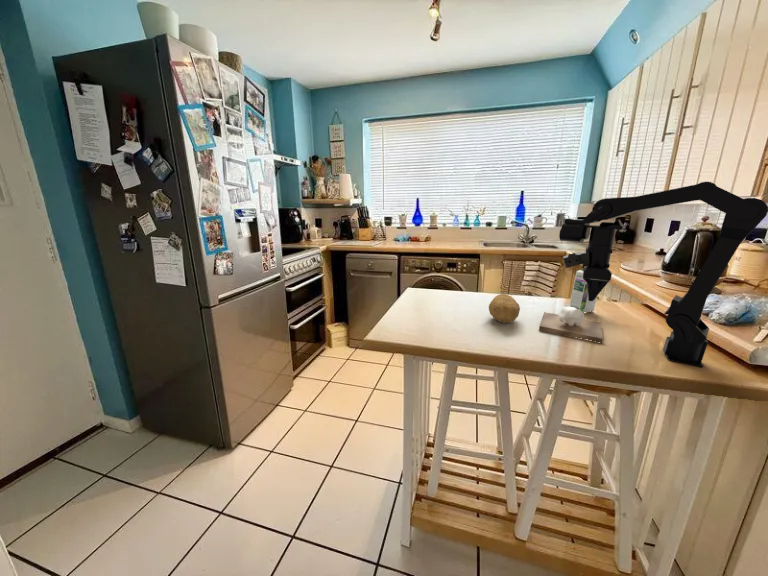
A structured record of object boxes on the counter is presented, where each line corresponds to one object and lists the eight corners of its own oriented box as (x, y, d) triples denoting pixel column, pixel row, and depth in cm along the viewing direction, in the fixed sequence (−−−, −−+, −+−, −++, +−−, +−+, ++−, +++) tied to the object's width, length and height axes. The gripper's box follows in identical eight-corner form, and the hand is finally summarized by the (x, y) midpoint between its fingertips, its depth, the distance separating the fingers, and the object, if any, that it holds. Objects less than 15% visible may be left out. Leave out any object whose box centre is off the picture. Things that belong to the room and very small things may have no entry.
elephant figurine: (551, 320, 98) (554, 302, 96) (576, 320, 98) (579, 302, 96) (563, 328, 91) (567, 310, 90) (590, 328, 91) (594, 310, 90)
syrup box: (568, 308, 113) (575, 270, 109) (580, 307, 114) (588, 269, 110) (581, 314, 107) (589, 274, 103) (594, 312, 109) (603, 273, 105)
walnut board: (599, 326, 97) (600, 322, 97) (601, 343, 86) (602, 338, 85) (543, 316, 105) (544, 312, 105) (538, 330, 94) (539, 325, 93)
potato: (487, 326, 96) (489, 302, 94) (487, 311, 109) (490, 290, 106) (520, 331, 93) (524, 306, 91) (517, 315, 106) (520, 293, 103)
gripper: (568, 239, 98) (560, 285, 102) (566, 246, 83) (557, 300, 87) (610, 241, 93) (600, 290, 97) (617, 249, 77) (605, 307, 82)
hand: (590, 296), depth 91 cm, fingers open, 9 cm apart
